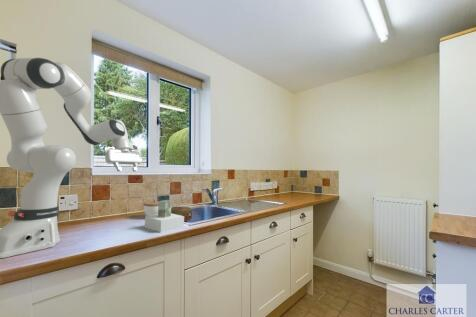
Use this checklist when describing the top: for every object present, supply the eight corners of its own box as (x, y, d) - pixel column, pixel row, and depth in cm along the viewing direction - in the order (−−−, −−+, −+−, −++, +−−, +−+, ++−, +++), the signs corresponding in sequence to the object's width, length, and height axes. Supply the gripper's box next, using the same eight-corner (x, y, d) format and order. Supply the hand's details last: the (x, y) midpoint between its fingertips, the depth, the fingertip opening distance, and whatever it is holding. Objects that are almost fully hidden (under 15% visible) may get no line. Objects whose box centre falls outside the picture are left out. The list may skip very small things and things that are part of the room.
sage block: (165, 217, 116) (165, 201, 116) (157, 216, 117) (158, 201, 118) (170, 215, 120) (171, 200, 120) (163, 215, 122) (164, 200, 122)
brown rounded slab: (168, 220, 134) (168, 206, 134) (170, 219, 137) (171, 205, 137) (191, 222, 130) (191, 207, 131) (193, 221, 133) (194, 206, 134)
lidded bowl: (144, 215, 145) (144, 198, 146) (164, 214, 149) (165, 198, 149) (142, 220, 133) (142, 201, 134) (164, 219, 137) (165, 200, 137)
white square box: (160, 233, 108) (161, 220, 109) (144, 228, 117) (145, 216, 117) (183, 227, 120) (184, 216, 120) (167, 223, 128) (167, 212, 128)
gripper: (107, 143, 115) (112, 168, 112) (141, 147, 133) (146, 169, 130) (100, 148, 118) (105, 173, 115) (134, 151, 136) (139, 173, 133)
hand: (127, 171), depth 123 cm, fingers open, 8 cm apart
